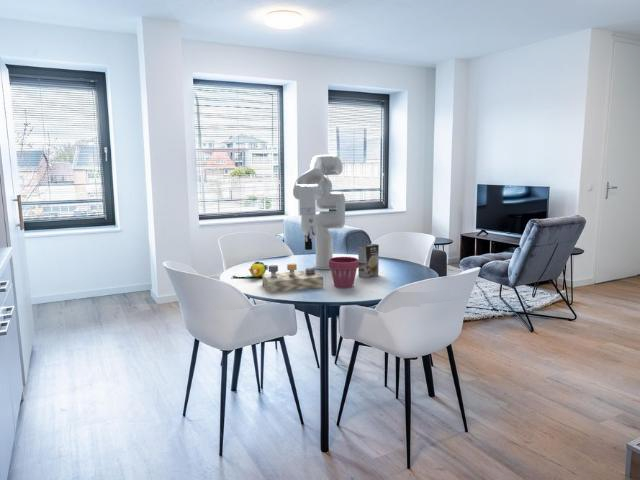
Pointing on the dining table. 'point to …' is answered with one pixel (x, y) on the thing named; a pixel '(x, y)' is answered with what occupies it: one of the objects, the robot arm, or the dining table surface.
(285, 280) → the console
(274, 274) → the knob
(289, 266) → the knob mid
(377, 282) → the dining table surface
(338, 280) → the plant pot
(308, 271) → the knob
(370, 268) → the coffee box
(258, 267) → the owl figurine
